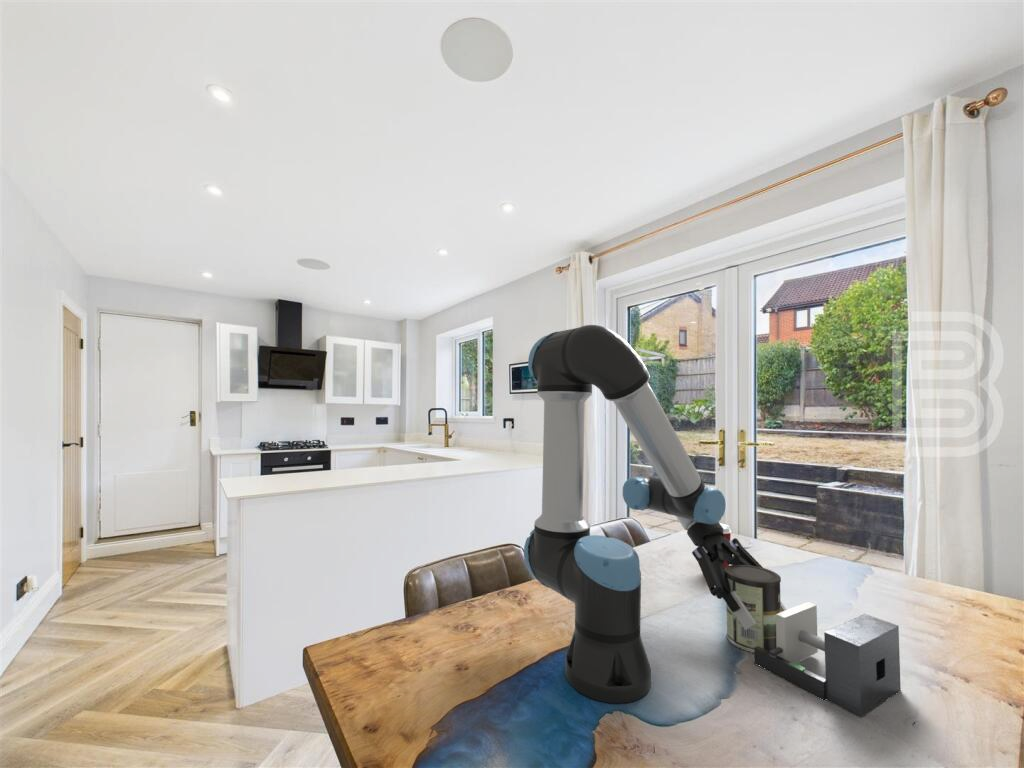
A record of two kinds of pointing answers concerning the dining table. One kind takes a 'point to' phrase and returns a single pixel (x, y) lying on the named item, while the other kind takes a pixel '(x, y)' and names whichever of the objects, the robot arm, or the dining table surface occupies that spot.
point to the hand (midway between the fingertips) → (767, 620)
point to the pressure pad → (797, 633)
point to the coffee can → (754, 606)
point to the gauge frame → (848, 665)
